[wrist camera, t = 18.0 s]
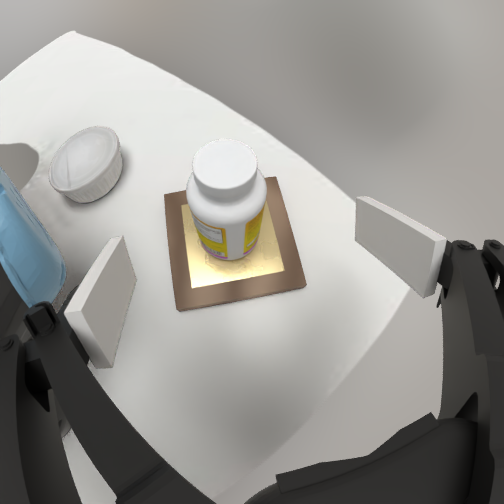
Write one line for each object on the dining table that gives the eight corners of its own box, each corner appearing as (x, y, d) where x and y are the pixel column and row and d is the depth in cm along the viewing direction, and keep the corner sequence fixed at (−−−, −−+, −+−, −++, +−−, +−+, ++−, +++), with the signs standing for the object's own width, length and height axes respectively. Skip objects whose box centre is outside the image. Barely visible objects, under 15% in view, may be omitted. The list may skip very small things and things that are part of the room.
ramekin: (53, 191, 34) (36, 173, 29) (98, 139, 37) (86, 118, 32) (93, 223, 32) (75, 204, 27) (143, 162, 36) (133, 137, 31)
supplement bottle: (252, 203, 32) (262, 125, 20) (264, 256, 30) (283, 194, 18) (196, 212, 32) (177, 135, 19) (202, 266, 29) (181, 208, 17)
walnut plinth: (179, 311, 29) (176, 309, 28) (166, 200, 34) (164, 194, 32) (303, 287, 31) (306, 284, 29) (274, 182, 35) (276, 176, 34)
